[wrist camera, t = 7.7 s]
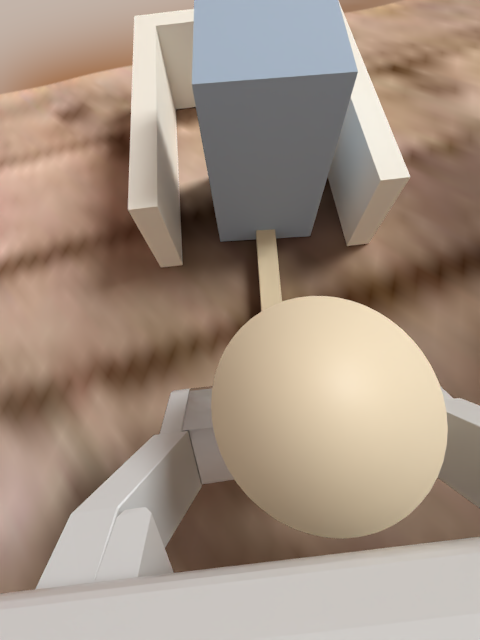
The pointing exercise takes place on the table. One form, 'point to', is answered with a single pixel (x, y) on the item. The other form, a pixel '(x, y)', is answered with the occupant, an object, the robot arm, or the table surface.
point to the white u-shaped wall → (176, 93)
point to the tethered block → (312, 311)
